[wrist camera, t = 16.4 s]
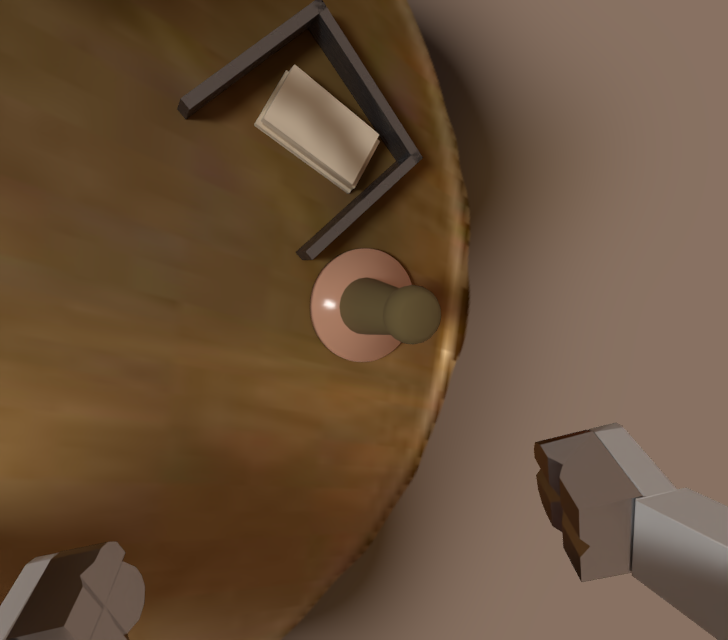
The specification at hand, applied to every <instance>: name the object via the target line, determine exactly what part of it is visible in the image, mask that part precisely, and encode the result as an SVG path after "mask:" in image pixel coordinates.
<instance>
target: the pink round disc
mask: <svg viewBox="0 0 728 640" xmlns="http://www.w3.org/2000/svg"><path fill="white" fill-rule="evenodd" d="M366 277H367V278H372V279H376V280H379V281H382V282H384V283H387V284H390V285H392V286H395V287H398V288H401V287H403V286H409V285H412V283H411V281H410V278H409V276H408V274H407V272H406V271H405V270H404V268H403V267H402V266H401V264H400V263H399V262H398V261H397V260H395V259H394V258H393V257H391V256H390V255H388V254H386V253H384V252H382V251H379V250H375V249H368V248H367V249H354V250H350V251H347V252H344V253H342V254H340V255H338V256H336V257H335V258H333V259H332V260H331V261H330V262H329V263H328V264H327V265H326V266H325V267H324V268H323V269H322V271H321V272H320V274H319V275H318V277H317V279H316V281H315V283H314V286H313V289H312V293H311V298H310V315H311V321H312V324H313V327H314V330H315V332H316V334H317V336H318V338H319V339H320V341H321V342H322V343H323V344H324V345H325V347H327V348H328V349H329V350H330V351H331V352H333V353H334V354H336V355H338V356H340V357H342V358H344V359H347V360H350V361H355V362H368V361H373V360H377V359H379V358H382V357H384V356H386V355H387V354H389V353H390V352H392V351H393V350H394V349H395V348H396V347H397V346H398V345H399V344H400V343H401V342H400V341H398V340H396V339H395V338H393V337H392V336H391V335H365V334H357V333H355V332H353V331H351V330H350V329H349V328H348V327H347V326H346V325H345V324H344V322H343V320H342V318H341V315H340V308H339V306H340V300H341V296H342V294H343V292H344V290H345V289H346V287H347V286H348V285H349V284H350V283H351V282H353V281H355V280H357V279H359V278H366Z"/></svg>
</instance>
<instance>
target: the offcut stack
mask: <svg viewBox="0 0 728 640" xmlns="http://www.w3.org/2000/svg"><path fill="white" fill-rule="evenodd" d="M254 126H256V127H257V128H258V129H260V130H261V131H262V132H264V133H265V134H267V135H268V136H269V137H271V138H272V139H273V140H275V141H276V142H278V143H279V144H280V145H282V146H283V147H284V148H286V149H287V150H289V151H290V152H291V153H293V154H294V155H295V156H297V157H298V158H299V159H301V160H302V161H304V162H305V163H306V164H308V165H309V166H310V167H312V168H313V169H315V170H316V171H317V172H319V173H320V174H321V175H323V176H324V177H326V178H327V179H328V180H330V181H331V182H332V183H334V184H335V185H337V186H338V187H339V188H341V189H342V190H343V191H345V192H346V193H347V194H348V193H350V192H351V190H352V189H354V188H355V187H356V185H357V183H358V181H359V179H360V177H361V176H362V174H363V172H364V170H365V168H366V166H367V165H368V163H369V161H370V159H371V157H372V155H373V153H374V152H375V150H376V148H377V146H378V144H379V142H380V141H379V140H378V139H377V138H378V136H379V134H378V133H377V132H376V131H374V130H373V129H372V128H371V127H370V126H368V125H367V124H366V123H365V122H364V121H362V120H361V119H360V118H359V117H358V116H356V115H355V114H354V113H353V112H352V111H350V110H349V109H348V108H347V107H345V106H344V105H343V104H342V103H341V102H339V101H338V100H337V99H336V98H335V97H333V96H332V95H331V94H330V93H329V92H327V91H326V90H325V89H324V88H323V87H321V86H320V85H319V84H318V83H317V82H315V81H314V80H313V79H312V78H311V77H309V76H308V75H307V74H306V73H304V72H303V71H302V70H301V69H300V68H298V67H297V66H296V65H295V64H294V66H293V67H292V68H291V70H290V71H289V72H288V71H287V70H286V71H285V73H284V74H283V76H282V78H281V79H280V81H279V83H278V85H277V86H276V88H275V90H274V92H273V93H272V95H271V97H270V98H269V100H268V102H267V104H266V105H265V107H264V109H263V110H262V112H261V114H260V116H259V117H258V119H257V121H256V122H255V124H254Z"/></svg>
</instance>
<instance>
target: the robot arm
mask: <svg viewBox="0 0 728 640" xmlns="http://www.w3.org/2000/svg"><path fill="white" fill-rule="evenodd" d="M534 455H535V459H536V461H537V463H538V465H539V466H540V468H541V469H540V471H539V472H538V473H537V475H536V477H537V485H538V490H539V494H540V497H541V501H542V504H543V507H544V509H545V512H546V514H547V516H548V518H549V520H550V522H551V524H552V526H553V527H555V528H556V529H558V530H560V531H561V532H562V533H563V547H564V549H565V552H566V553H567V555H568V557H569V559H570V561H571V563H572V565H573V567H574V569H575V571H576V572H577V575H578V576H579V578H580V580H581V582H585V581H591V580H595V579H601V578H606V577H612V576H617V575H622V574H628V573H632V576H633V577H634V578H636V579H637V580H639V581H640V582H641V583H643V584H644V585H645V586H647V587H648V588H649V589H651V590H652V591H653V592H655V593H656V594H657V595H659V596H660V597H661V598H663V599H664V600H665V601H667V602H668V603H669V604H671V605H672V606H673V607H675V608H676V609H677V610H679V611H680V612H681V613H683V614H684V615H685V616H687V617H688V618H689V619H691V620H692V621H694V622H695V623H696V624H697V625H699V626H700V627H701V628H703V629H704V630H705V631H707V632H708V633H709V634H711V635H712V636H713V637H715V638H716V639H717V640H728V506H726V505H723V504H721V503H719V502H717V501H715V500H713V499H710V498H708V497H706V496H704V495H702V494H699V493H697V492H695V491H693V490H691V489H689V488H682V489H677V488H676V487H675V486H674V485H673V484H672V482H671V481H670V480H669V479H668V478H667V477H666V476H665V474H664V473H663V472H662V471H661V470H660V469H659V467H658V466H657V465H656V464H655V463H654V462H653V461H652V460H651V458H650V457H649V456H648V455H647V454H646V453H645V452H644V450H643V449H642V448H641V447H640V446H639V445H638V443H637V442H636V441H635V440H634V439H633V438H632V437H631V435H630V434H629V433H628V432H627V431H626V430H625V428H624V427H623V426H622V425H620V424H618V423H612V424H608V425H604V426H600V427H596V428H592V429H589V430H583V431H579V432H575V433H571V434H567V435H562V436H558V437H554V438H550V439H546V440H542V441H538V442H535V445H534ZM124 556H125V551H124V550H123V549H122V548H121V546H120V545H119V544H118V543H117V542H105V543H100V544H95V545H91V546H86V547H81V548H76V549H71V550H66V551H61V552H59V553H54V554H49V555H44V556H39V557H35V558H34V559H33V560H31V561H30V562H29V563H27V564H26V565H25V567H24V568H23V570H22V572H21V573H20V575H19V577H18V578H17V580H16V581H15V583H14V585H13V586H12V588H11V590H10V591H9V593H8V594H7V596H6V598H5V599H4V601H3V603H2V604H1V606H0V640H129V637H128V634H127V633H128V632H129V631H130V630H131V628H132V627H133V626H134V625H135V624H136V623H137V621H138V620H139V619H140V616H141V612H142V609H143V606H144V599H145V585H144V582H143V578H142V575H141V574H140V572H139V571H138V569H137V568H136V567H135V566H132V565H130V564H128V563H126V562H123V559H124Z"/></svg>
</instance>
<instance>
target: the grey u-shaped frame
mask: <svg viewBox="0 0 728 640" xmlns="http://www.w3.org/2000/svg"><path fill="white" fill-rule="evenodd" d="M306 29H309V30H310V32H311V33H312V35H313V36H314V38H315V39H316V41H317V42H318V44H319V45H320V47H321V48H322V50H323V52H324V53H325V55H326V56H327V58H328V59H329V61H330V62H331V64H332V65H333V67H334V68H335V70H336V71H337V73H338V74H339V76H340V77H341V79H342V80H343V82H344V83H345V85H346V86H347V88H348V89H349V91H350V92H351V94H352V95H353V97H354V98H355V100H356V101H357V103H358V104H359V106H360V107H361V109H362V110H363V112H364V113H365V115H366V116H367V118H368V119H369V121H370V122H371V124H372V125H373V127H374V128H375V130H376V131H377V133H378V134H379V136H380V137H381V139H382V140H383V142H384V143H385V145H386V146H387V148H388V149H389V151H390V152H391V154H392V155H393V157H394V158H395V160H396V162H395V163H394V164H393V165H391V166H390V167H389V168H388V169H387V170H386V171H385V172H384V173H383V174H382V175H380V176H379V177H378V178H377V179H376V180H375V181H374V182H373V183H372V184H370V185H369V186H368V187H367V188H366V189H365V190H364V191H363V192H362V193H361V194H359V195H358V196H357V197H356V198H355V199H354V200H353V201H352V202H351V203H350V204H348V205H347V206H346V207H345V208H344V209H343V210H342V211H341V212H340V213H338V214H337V215H336V216H335V217H334V218H333V219H332V220H331V221H330V222H329V223H327V224H326V225H325V226H324V227H323V228H322V229H321V230H320V231H319V232H318V233H316V234H315V235H314V236H313V237H312V238H311V239H310V240H309V241H308V242H306V243H305V244H304V245H303V246H302V247H301V248H300V249H299V250H298V251H297V252H296V253H297V254H298V256H299V257H300V258H301V259H302V260H313V259H314V258H315V257H316V256H317V255H318V254H319V253H320V252H321V251H322V250H324V249H325V248H326V247H327V246H328V245H329V244H330V243H331V242H332V241H333V240H334V239H335V238H337V237H338V236H339V235H340V234H341V233H342V232H343V231H344V230H345V229H346V228H347V227H348V226H350V225H351V224H352V223H353V222H354V221H355V220H356V219H357V218H358V217H359V216H360V215H361V214H363V213H364V212H365V211H366V210H367V209H368V208H369V207H370V206H371V205H372V204H373V203H374V202H376V201H377V200H378V199H379V198H380V197H381V196H382V195H383V194H384V193H385V192H386V191H387V190H389V189H390V188H391V187H392V186H393V185H394V184H395V183H396V182H397V181H398V180H399V179H400V178H402V177H403V176H404V175H405V174H406V173H407V172H408V171H409V170H410V169H411V168H412V167H413V166H415V165H416V164H417V163H418V162H419V161H420V160H421V159H422V158H423V157H422V156H421V154H420V152H419V151H418V149H417V148H416V146H415V145H414V143H413V141H412V140H411V138H410V137H409V135H408V134H407V132H406V131H405V129H404V127H403V126H402V124H401V123H400V121H399V120H398V118H397V116H396V115H395V113H394V112H393V110H392V109H391V107H390V105H389V104H388V102H387V101H386V99H385V98H384V96H383V94H382V93H381V91H380V90H379V88H378V87H377V85H376V84H375V82H374V80H373V79H372V77H371V76H370V74H369V73H368V71H367V69H366V68H365V66H364V65H363V63H362V62H361V60H360V58H359V57H358V55H357V54H356V52H355V51H354V49H353V48H352V46H351V44H350V43H349V41H348V40H347V38H346V37H345V35H344V33H343V32H342V30H341V29H340V27H339V26H338V24H337V22H336V21H335V19H334V18H333V16H332V15H331V13H330V12H329V10H328V8H327V7H326V5H325V4H324V2H323V1H322V0H315V1H314V2H312V3H311V4H310V5H308V6H307V7H305V8H304V9H303V10H301V11H300V12H299V13H297V14H296V15H294V16H293V17H292V18H290V19H289V20H288V21H286V22H285V23H283V24H282V25H281V26H279V27H278V28H277V29H275V30H274V31H272V32H271V33H270V34H268V35H267V36H266V37H264V38H263V39H262V40H260V41H259V42H257V43H256V44H255V45H253V46H252V47H251V48H249V49H248V50H246V51H245V52H244V53H242V54H241V55H240V56H238V57H237V58H235V59H234V60H233V61H231V62H230V63H229V64H227V65H226V66H224V67H223V68H222V69H220V70H219V71H218V72H216V73H215V74H214V75H212V76H211V77H209V78H208V79H207V80H205V81H204V82H203V83H201V84H200V85H198V86H197V87H196V88H194V89H193V90H192V91H190V92H189V93H187V94H186V95H185V96H183V97H182V98H181V99H180V102H179V105H178V109H177V110H178V111H179V112H180V113H181V114H182V116H183V117H184V118H185V119H187V118H188V117H190V116H191V115H192V114H194V113H195V112H196V111H198V110H199V109H200V108H202V107H203V106H204V105H206V104H207V103H208V102H210V101H211V100H212V99H214V98H215V97H216V96H218V95H219V94H220V93H222V92H223V91H224V90H226V89H227V88H228V87H230V86H231V85H232V84H234V83H235V82H236V81H238V80H239V79H240V78H242V77H243V76H245V75H246V74H247V73H249V72H250V71H251V70H253V69H254V68H255V67H257V66H258V65H259V64H261V63H262V62H263V61H265V60H266V59H267V58H269V57H270V56H271V55H273V54H274V53H275V52H277V51H278V50H279V49H281V48H282V47H283V46H285V45H286V44H287V43H289V42H290V41H291V40H293V39H294V38H295V37H297V36H298V35H299V34H301V33H302V32H303V31H305V30H306Z"/></svg>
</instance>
